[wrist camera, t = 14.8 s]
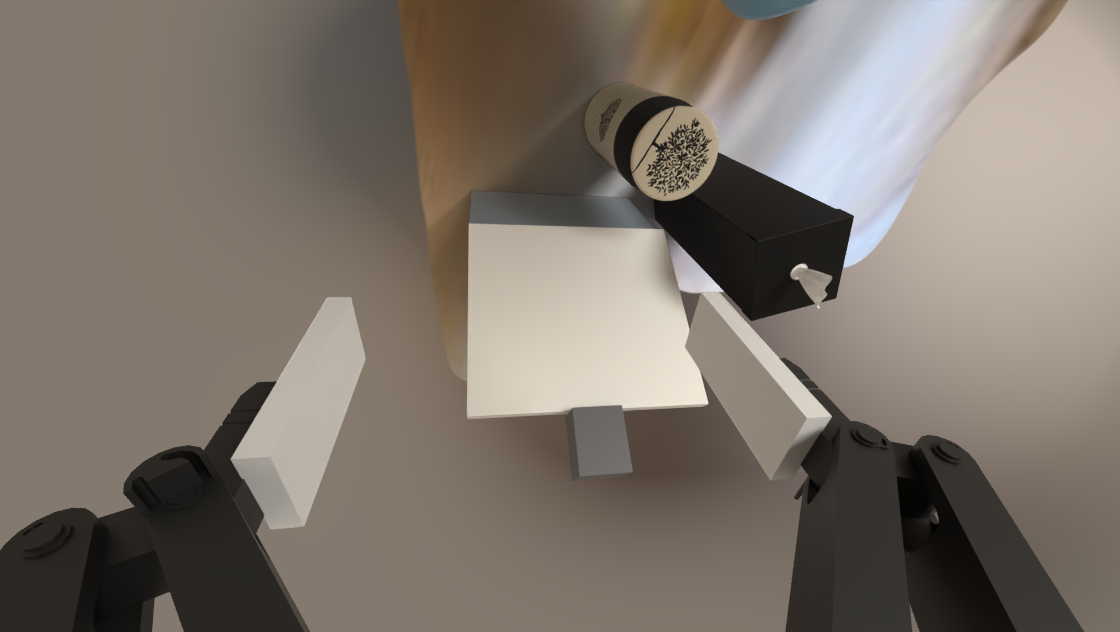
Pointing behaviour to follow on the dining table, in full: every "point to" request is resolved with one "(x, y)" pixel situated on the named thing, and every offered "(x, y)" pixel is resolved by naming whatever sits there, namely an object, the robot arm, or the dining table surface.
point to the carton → (555, 210)
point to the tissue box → (760, 239)
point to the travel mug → (652, 140)
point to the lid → (577, 333)
